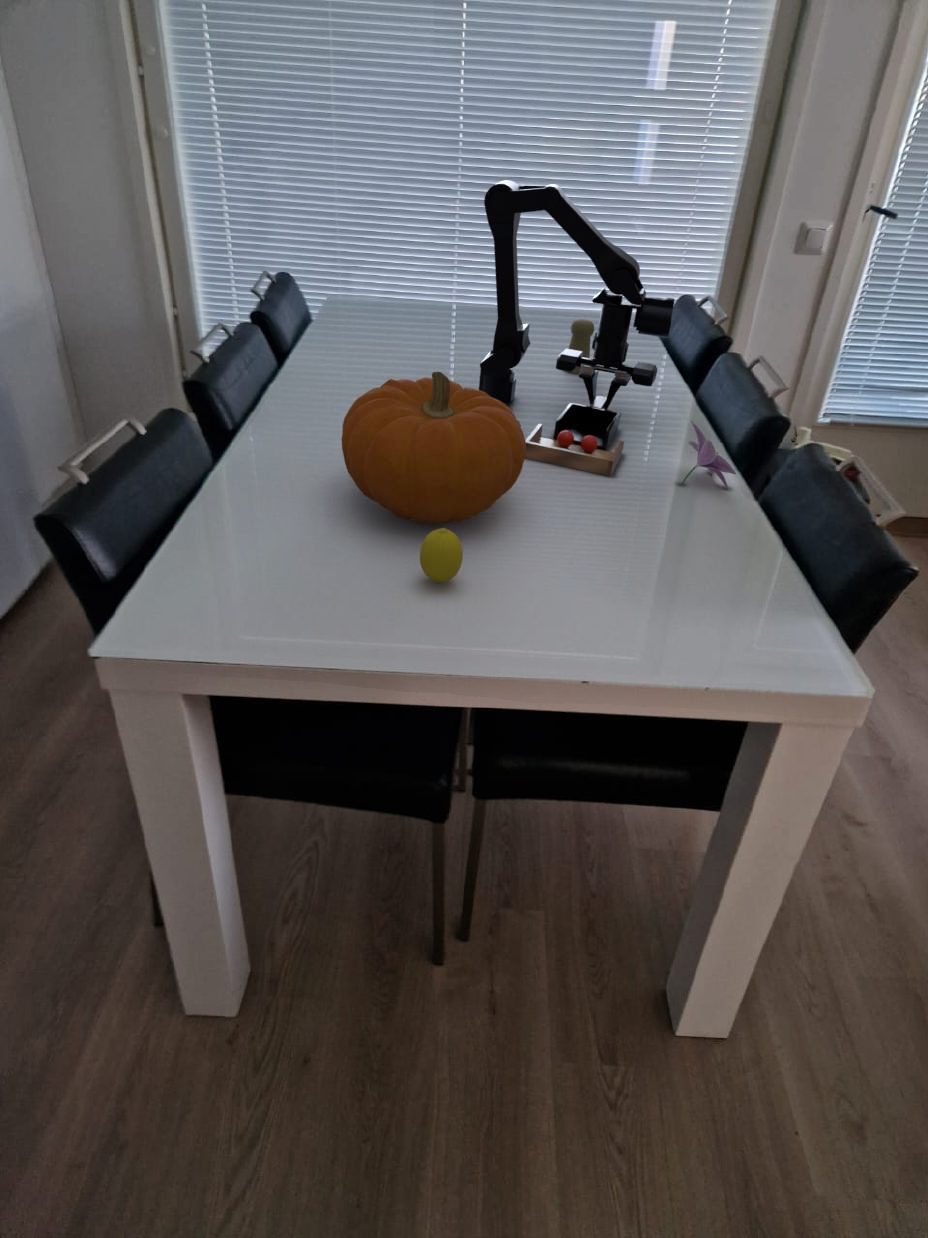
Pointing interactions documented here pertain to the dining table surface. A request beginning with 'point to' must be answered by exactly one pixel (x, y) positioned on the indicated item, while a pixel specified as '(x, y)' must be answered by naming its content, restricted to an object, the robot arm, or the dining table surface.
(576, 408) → the pan
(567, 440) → the tomato
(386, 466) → the pumpkin
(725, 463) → the lily
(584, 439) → the tomato
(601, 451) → the tray
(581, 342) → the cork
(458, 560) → the lemon
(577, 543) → the dining table surface
